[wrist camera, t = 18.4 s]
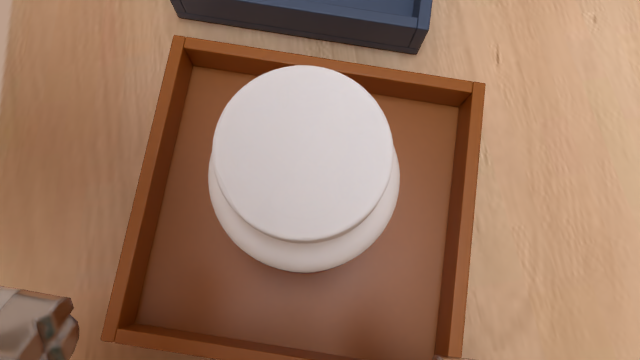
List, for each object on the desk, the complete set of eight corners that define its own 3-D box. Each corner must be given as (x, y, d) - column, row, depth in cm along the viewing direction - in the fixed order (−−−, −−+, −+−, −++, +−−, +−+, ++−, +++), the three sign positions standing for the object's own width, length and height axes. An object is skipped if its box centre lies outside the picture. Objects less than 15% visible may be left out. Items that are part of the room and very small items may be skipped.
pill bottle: (377, 264, 22) (446, 258, 11) (250, 282, 21) (190, 294, 11) (358, 140, 23) (402, 26, 12) (236, 156, 23) (170, 52, 12)
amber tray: (124, 332, 21) (99, 340, 19) (187, 58, 24) (173, 34, 22) (440, 382, 21) (458, 398, 19) (467, 102, 24) (485, 83, 22)
